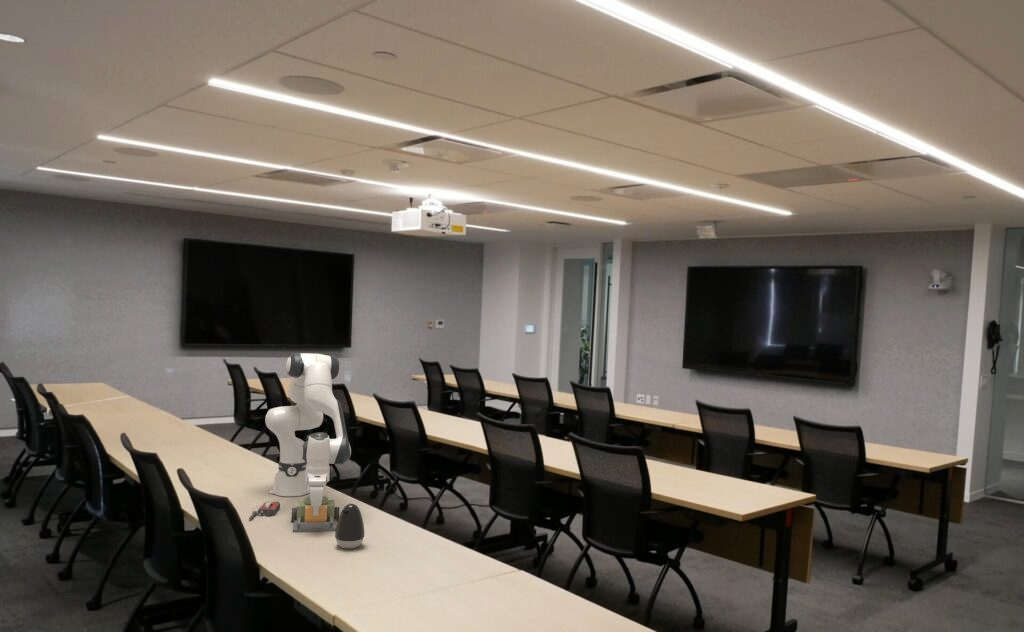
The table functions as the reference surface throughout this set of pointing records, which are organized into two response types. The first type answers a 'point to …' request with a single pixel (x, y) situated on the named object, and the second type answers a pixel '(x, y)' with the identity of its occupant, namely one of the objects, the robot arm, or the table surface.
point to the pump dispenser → (350, 527)
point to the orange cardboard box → (320, 518)
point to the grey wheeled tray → (301, 526)
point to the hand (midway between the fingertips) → (315, 513)
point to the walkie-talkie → (266, 509)
